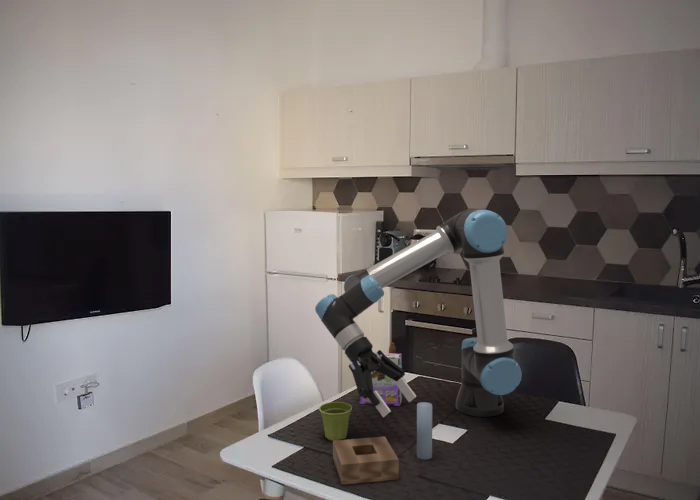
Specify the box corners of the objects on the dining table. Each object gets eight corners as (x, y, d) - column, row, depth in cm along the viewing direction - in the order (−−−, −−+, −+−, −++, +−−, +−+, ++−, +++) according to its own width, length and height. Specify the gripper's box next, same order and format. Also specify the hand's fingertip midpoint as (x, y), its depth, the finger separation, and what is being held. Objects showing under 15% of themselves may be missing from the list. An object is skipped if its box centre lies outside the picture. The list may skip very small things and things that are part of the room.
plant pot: (348, 445, 163) (348, 414, 162) (315, 442, 165) (315, 412, 164) (355, 431, 172) (355, 402, 171) (324, 429, 174) (323, 400, 173)
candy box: (402, 401, 198) (402, 353, 196) (399, 407, 192) (399, 357, 190) (362, 398, 201) (361, 350, 199) (358, 404, 195) (358, 355, 194)
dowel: (429, 452, 158) (429, 401, 157) (434, 458, 154) (434, 406, 153) (414, 453, 157) (415, 402, 156) (419, 460, 153) (419, 408, 152)
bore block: (384, 454, 157) (384, 436, 156) (398, 479, 143) (398, 459, 143) (333, 459, 154) (332, 440, 154) (341, 484, 140) (341, 464, 140)
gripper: (370, 342, 177) (414, 400, 169) (319, 361, 156) (366, 429, 149) (386, 327, 173) (431, 386, 166) (335, 344, 153) (384, 413, 146)
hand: (400, 406), depth 158 cm, fingers open, 13 cm apart
